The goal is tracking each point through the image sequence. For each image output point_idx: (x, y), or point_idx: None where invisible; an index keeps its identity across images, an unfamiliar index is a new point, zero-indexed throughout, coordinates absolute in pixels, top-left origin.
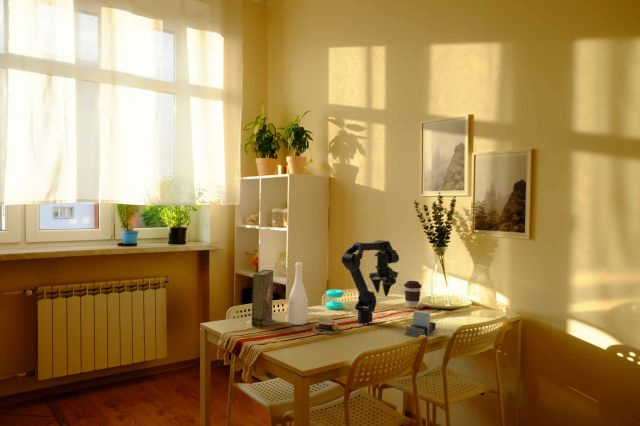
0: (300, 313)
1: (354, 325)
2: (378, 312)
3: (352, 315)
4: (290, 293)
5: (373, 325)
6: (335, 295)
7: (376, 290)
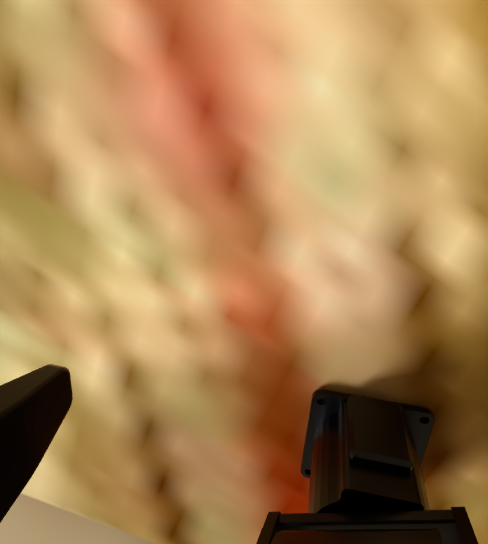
0: None
1: None
2: (29, 64)
3: (103, 370)
4: None
5: (475, 433)
6: None
7: (41, 456)
